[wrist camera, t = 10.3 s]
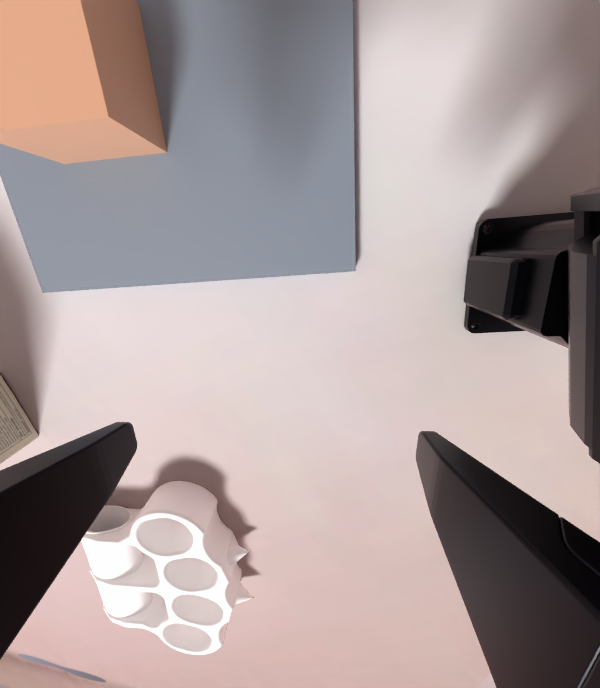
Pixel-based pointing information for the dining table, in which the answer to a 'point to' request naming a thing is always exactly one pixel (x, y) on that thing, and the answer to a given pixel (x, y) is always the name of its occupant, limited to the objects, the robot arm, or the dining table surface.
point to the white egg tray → (168, 567)
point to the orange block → (77, 80)
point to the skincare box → (13, 424)
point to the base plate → (211, 157)
